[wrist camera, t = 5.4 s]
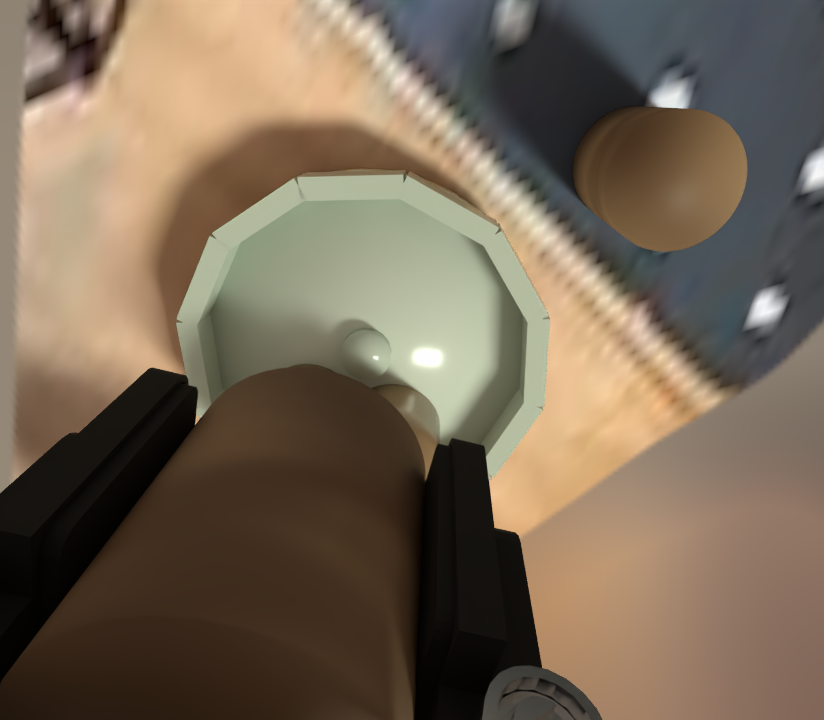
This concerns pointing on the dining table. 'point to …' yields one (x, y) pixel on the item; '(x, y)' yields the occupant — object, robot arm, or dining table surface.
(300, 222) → the tray
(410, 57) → the dining table surface
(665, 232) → the bead
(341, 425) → the bead
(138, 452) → the robot arm
